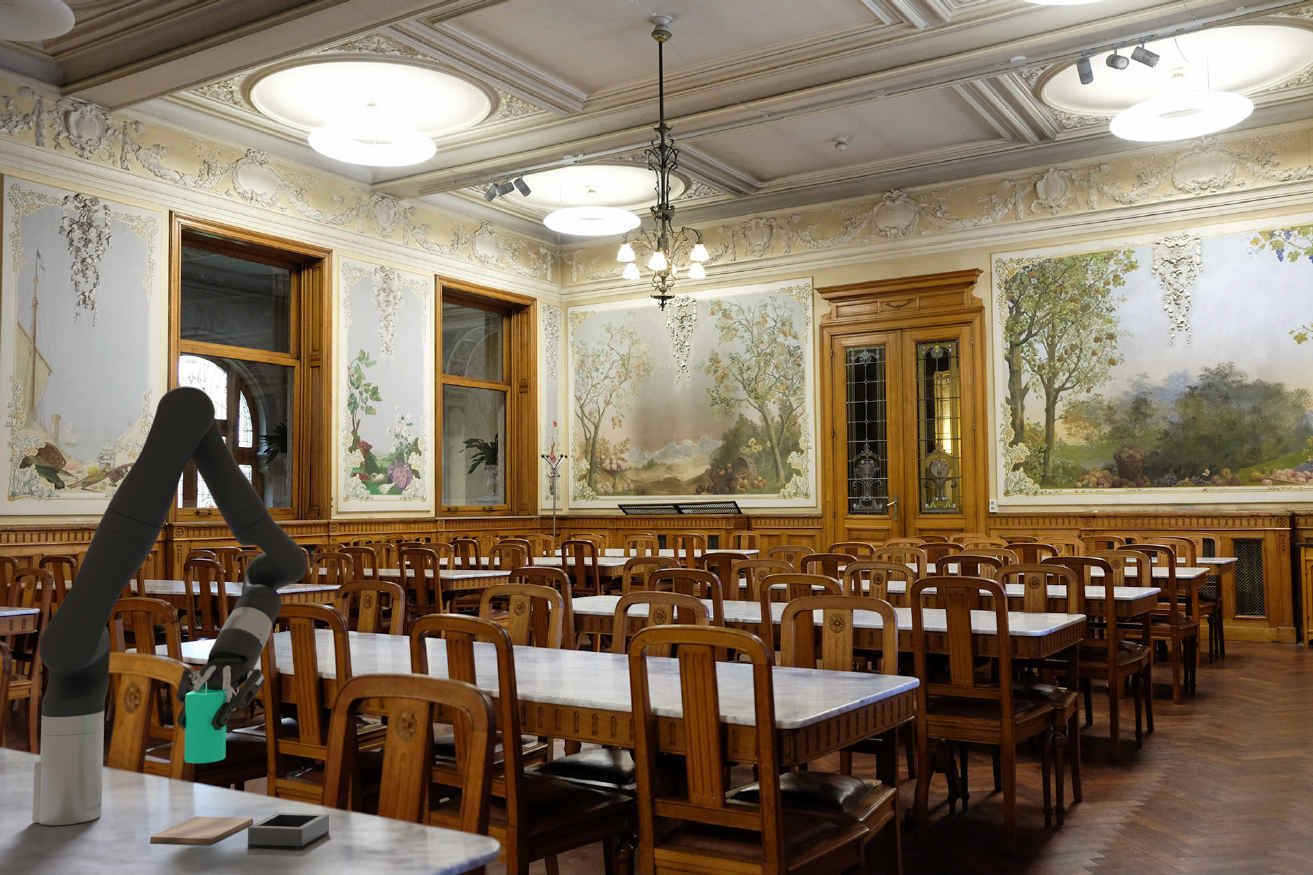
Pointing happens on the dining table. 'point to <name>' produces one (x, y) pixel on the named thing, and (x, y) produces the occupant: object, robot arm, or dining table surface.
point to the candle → (203, 727)
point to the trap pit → (288, 831)
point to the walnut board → (202, 830)
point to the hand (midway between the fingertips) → (199, 726)
